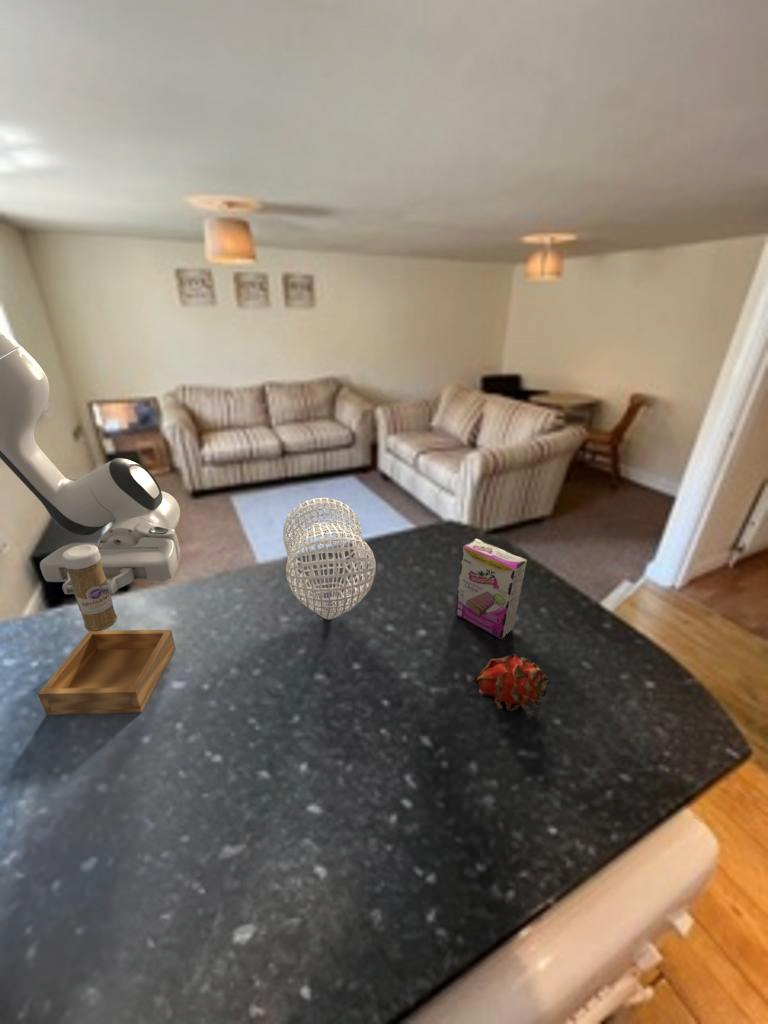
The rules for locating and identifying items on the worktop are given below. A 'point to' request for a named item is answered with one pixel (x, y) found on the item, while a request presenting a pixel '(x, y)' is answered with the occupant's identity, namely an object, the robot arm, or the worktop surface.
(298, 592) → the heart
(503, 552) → the candy bar box
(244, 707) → the worktop surface
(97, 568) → the sprinkles bottle
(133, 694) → the holder
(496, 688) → the dragon fruit
